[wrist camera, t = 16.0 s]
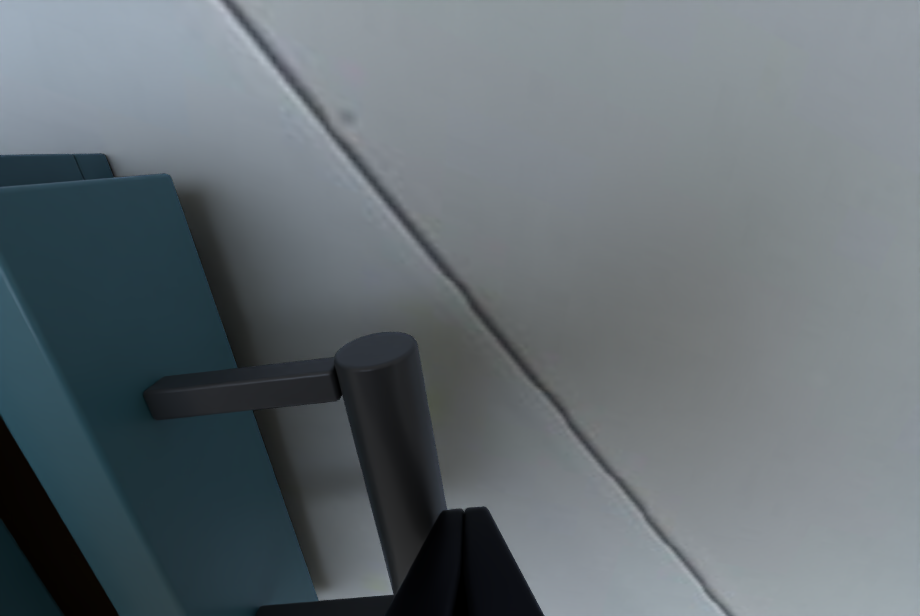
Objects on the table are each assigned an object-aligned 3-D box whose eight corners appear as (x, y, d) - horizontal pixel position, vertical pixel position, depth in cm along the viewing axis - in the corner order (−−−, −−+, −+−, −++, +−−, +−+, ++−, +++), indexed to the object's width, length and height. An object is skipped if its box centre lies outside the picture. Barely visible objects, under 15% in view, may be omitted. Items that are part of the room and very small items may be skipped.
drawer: (402, 140, 8) (358, 134, 5) (479, 611, 13) (485, 787, 9) (-465, 260, 9) (-1044, 329, 6) (-106, 657, 14) (-300, 831, 10)
